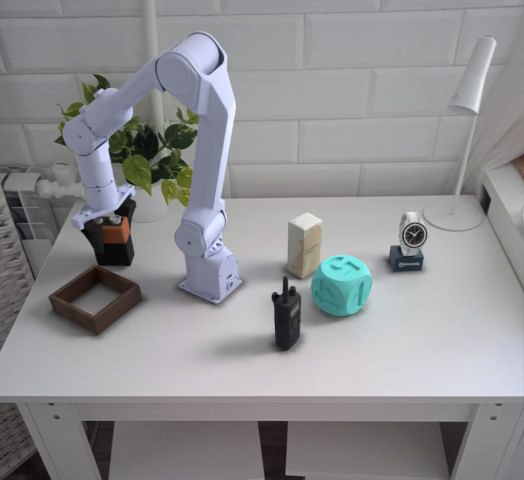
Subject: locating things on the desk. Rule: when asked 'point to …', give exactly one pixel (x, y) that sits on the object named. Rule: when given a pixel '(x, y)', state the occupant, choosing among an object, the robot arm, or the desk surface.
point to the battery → (115, 241)
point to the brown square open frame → (84, 283)
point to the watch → (409, 244)
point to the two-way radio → (287, 316)
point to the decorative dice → (341, 285)
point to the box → (304, 244)
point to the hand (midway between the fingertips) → (112, 243)
